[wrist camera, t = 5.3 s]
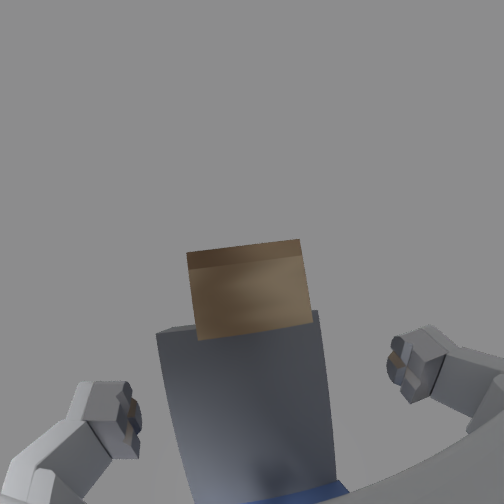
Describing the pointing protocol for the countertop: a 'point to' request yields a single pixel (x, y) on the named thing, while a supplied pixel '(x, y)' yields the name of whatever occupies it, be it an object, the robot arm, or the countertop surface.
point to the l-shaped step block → (252, 415)
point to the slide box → (248, 289)
